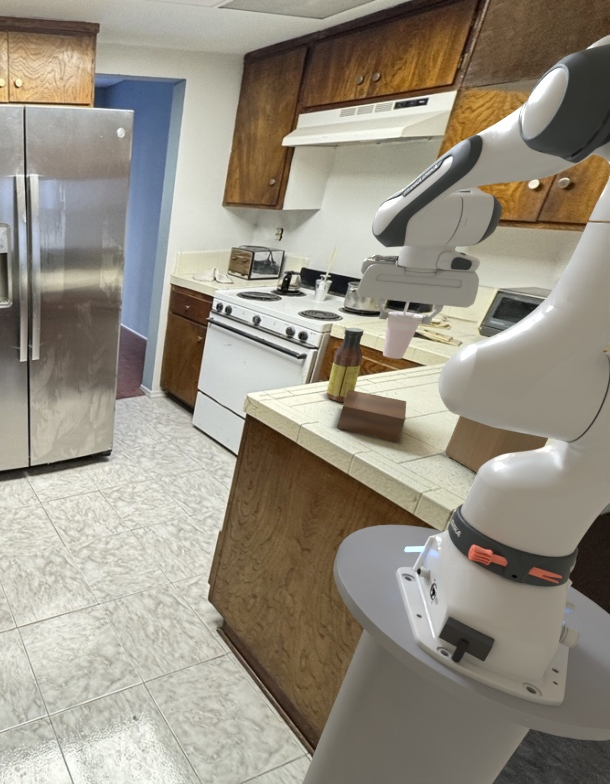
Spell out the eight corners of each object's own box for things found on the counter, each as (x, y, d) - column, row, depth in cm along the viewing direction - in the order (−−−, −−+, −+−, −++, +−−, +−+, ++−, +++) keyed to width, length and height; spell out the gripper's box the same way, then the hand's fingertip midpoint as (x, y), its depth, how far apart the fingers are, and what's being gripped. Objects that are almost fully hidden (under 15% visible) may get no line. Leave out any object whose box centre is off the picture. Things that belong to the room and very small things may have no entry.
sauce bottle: (352, 397, 131) (372, 328, 123) (350, 405, 126) (371, 334, 118) (325, 391, 134) (343, 324, 126) (322, 399, 130) (341, 330, 122)
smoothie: (369, 353, 109) (386, 293, 103) (388, 350, 111) (406, 291, 105) (397, 362, 104) (417, 299, 98) (416, 358, 106) (437, 296, 100)
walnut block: (397, 442, 108) (405, 419, 106) (336, 427, 115) (342, 405, 112) (398, 422, 117) (406, 401, 114) (342, 410, 123) (348, 389, 121)
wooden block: (484, 451, 104) (521, 368, 95) (531, 477, 95) (577, 387, 86) (441, 454, 103) (475, 369, 95) (485, 480, 94) (527, 389, 86)
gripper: (364, 255, 102) (347, 317, 108) (490, 263, 90) (464, 332, 96) (366, 252, 107) (350, 311, 112) (487, 259, 95) (462, 325, 101)
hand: (403, 321), depth 104 cm, fingers closed on smoothie, 6 cm apart
